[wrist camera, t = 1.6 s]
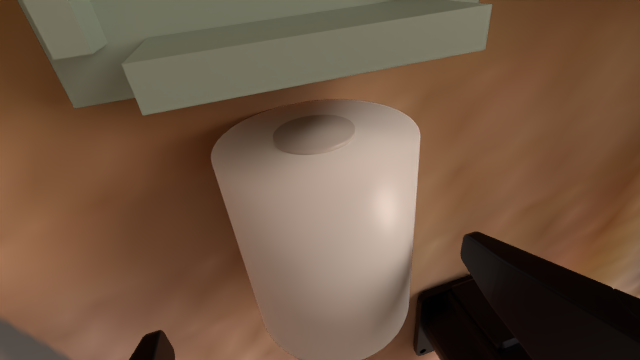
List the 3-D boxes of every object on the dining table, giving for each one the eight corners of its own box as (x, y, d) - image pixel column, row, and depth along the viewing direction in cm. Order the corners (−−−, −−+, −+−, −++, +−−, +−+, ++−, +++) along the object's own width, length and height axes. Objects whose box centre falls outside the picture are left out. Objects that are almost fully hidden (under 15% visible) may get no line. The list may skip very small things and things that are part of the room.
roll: (348, 225, 17) (442, 305, 13) (239, 282, 15) (308, 406, 10) (337, 84, 13) (470, 130, 9) (186, 130, 11) (261, 226, 6)
